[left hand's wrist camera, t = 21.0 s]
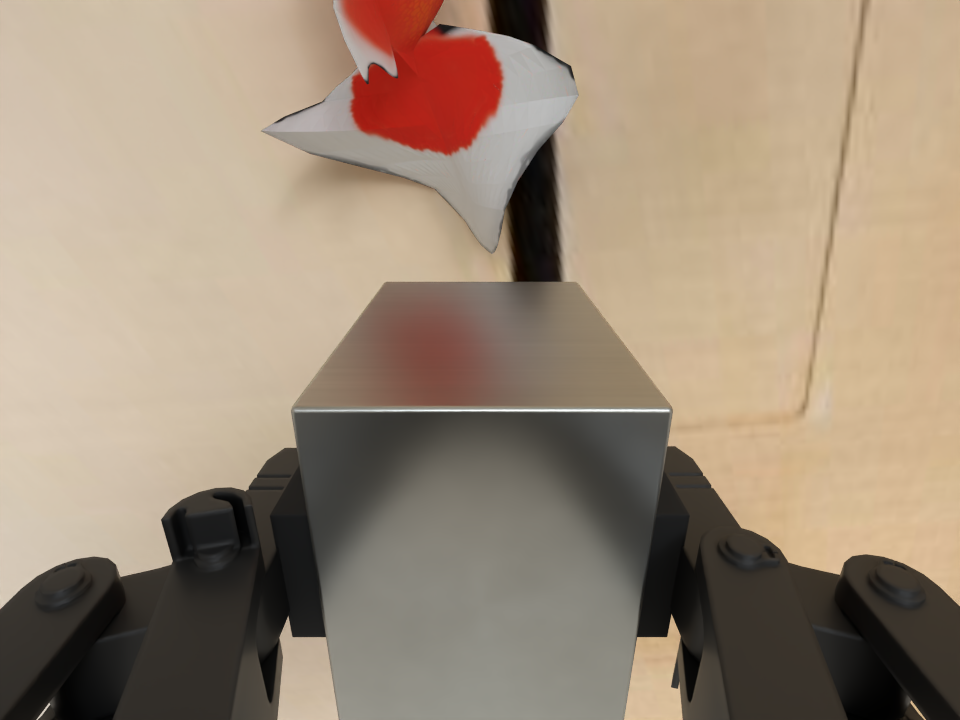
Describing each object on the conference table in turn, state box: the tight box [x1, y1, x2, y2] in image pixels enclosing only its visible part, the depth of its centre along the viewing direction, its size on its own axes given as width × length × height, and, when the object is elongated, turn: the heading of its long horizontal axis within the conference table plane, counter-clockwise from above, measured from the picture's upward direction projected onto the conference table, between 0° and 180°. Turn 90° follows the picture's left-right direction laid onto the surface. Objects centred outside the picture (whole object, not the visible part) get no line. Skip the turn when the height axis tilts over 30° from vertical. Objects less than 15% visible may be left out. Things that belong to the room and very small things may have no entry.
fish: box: [262, 0, 578, 254], centre depth 19 cm, size 11×16×10 cm
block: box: [291, 282, 673, 720], centre depth 12 cm, size 7×5×8 cm
